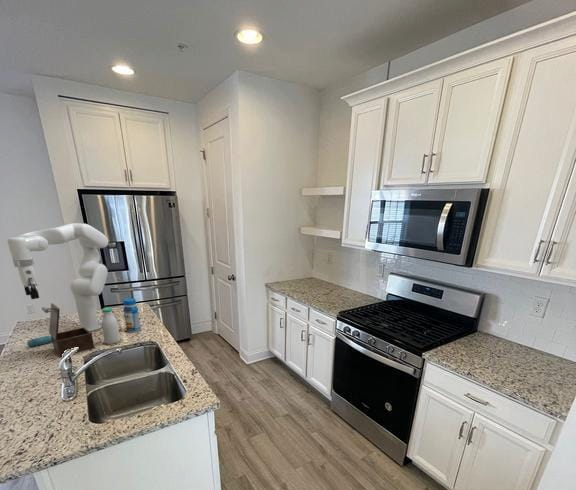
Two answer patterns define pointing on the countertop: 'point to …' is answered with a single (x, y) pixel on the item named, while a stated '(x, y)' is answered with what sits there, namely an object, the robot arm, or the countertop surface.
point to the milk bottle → (110, 327)
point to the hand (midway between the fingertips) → (32, 296)
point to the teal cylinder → (39, 341)
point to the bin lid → (53, 320)
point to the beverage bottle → (131, 315)
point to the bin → (73, 340)
